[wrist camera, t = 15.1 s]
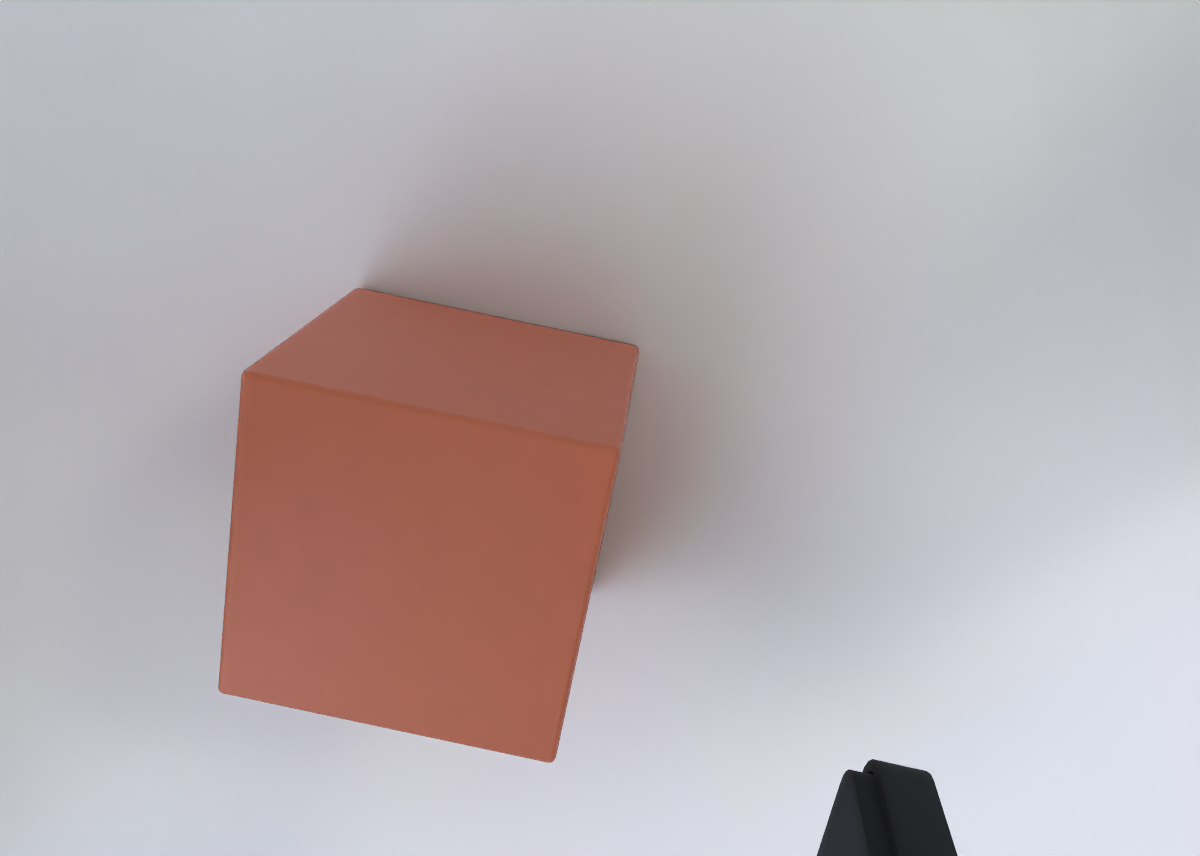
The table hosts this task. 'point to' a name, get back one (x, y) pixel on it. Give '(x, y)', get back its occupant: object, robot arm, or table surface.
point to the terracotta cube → (422, 519)
